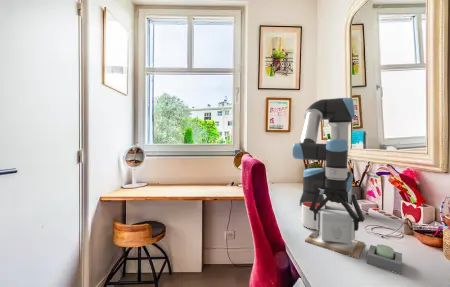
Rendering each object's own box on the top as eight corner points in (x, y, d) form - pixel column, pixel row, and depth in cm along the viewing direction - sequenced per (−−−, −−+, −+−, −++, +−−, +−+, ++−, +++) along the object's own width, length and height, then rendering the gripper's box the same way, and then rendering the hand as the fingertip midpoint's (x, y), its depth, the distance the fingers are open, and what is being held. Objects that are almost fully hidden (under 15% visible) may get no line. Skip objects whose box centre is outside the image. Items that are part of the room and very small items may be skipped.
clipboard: (304, 241, 84) (304, 238, 84) (316, 230, 94) (316, 228, 94) (358, 258, 72) (358, 255, 72) (364, 244, 83) (364, 241, 83)
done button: (377, 252, 73) (377, 243, 73) (393, 257, 70) (393, 247, 70) (375, 257, 69) (376, 247, 69) (392, 263, 66) (393, 252, 66)
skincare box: (346, 236, 85) (347, 210, 85) (352, 244, 79) (352, 216, 79) (318, 233, 88) (319, 208, 87) (321, 240, 81) (322, 213, 81)
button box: (370, 253, 76) (370, 244, 76) (401, 262, 70) (402, 253, 70) (366, 263, 69) (367, 254, 69) (401, 274, 64) (401, 264, 64)
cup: (326, 231, 93) (327, 209, 93) (303, 229, 95) (303, 207, 95) (321, 223, 103) (321, 202, 103) (299, 221, 105) (300, 201, 105)
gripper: (301, 175, 88) (300, 227, 88) (372, 184, 72) (370, 247, 72) (308, 173, 94) (307, 222, 94) (374, 181, 78) (373, 240, 78)
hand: (334, 233), depth 83 cm, fingers closed on skincare box, 12 cm apart
